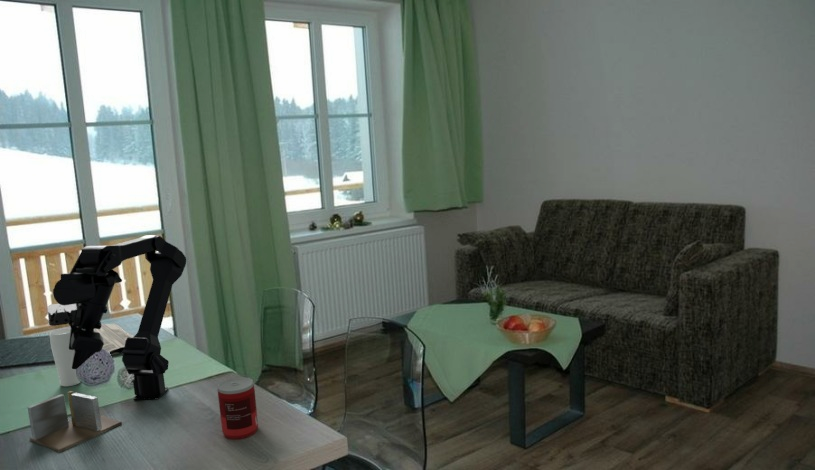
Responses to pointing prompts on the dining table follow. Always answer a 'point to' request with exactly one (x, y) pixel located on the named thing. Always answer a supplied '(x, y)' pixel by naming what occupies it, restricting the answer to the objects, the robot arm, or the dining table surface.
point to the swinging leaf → (86, 411)
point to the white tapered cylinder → (63, 356)
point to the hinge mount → (61, 424)
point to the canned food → (238, 407)
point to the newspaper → (113, 337)
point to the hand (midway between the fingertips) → (72, 358)
